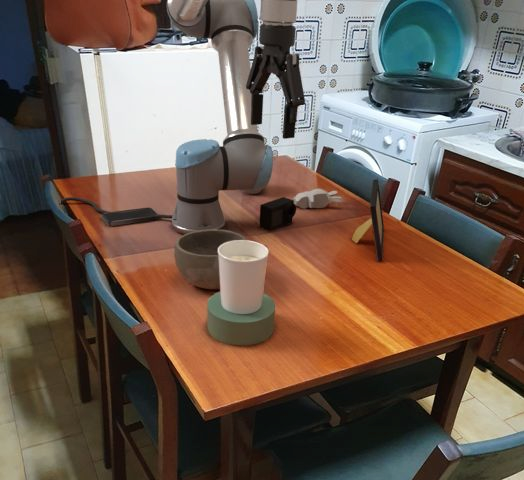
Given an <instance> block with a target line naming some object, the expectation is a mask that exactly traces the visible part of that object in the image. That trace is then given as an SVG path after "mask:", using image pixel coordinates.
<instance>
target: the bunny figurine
mask: <svg viewBox="0 0 524 480" xmlns="http://www.w3.org/2000/svg"><path fill="white" fill-rule="evenodd" d="M337 195H338V191H337V190H332V191H329V192H328V191H327V190H324V189H323V188H314V189H312V190H310V191H302V192H299V193H297V194H296V196H294V197H293V198H292V200H294V204H295V205H296V207H299V208H300V209H303V210H305V209H307V208H309V209H314V208H315V209H324V208H326V207H327V206H328V204H329V203H330V202H335V203H342V202H344V201H343V196H337Z"/></svg>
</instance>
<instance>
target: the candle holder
mask: <svg viewBox="0 0 524 480" xmlns="http://www.w3.org/2000/svg"><path fill="white" fill-rule="evenodd" d="M269 252H270V251H269V249H268V247H266V245H264V244H262V243H260V242H257V241H255V240H254V241H253V240H248V239H247V240H234V241H229V242H226V243H223V244H222V245H220V246H219V248H218V259H219V277H220V289H219V292H220V295H221V304H222V307H223V308H224V309H225V310H227V311H228V312H231V313H235V314H250V313H254V312H256V311H258V310H259V309H260V308H261V305H262V299H263V293H264V290H265V282H266V276H267V275H266V274H267V266H268V258H269V255H270V253H269Z"/></svg>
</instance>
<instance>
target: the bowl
mask: <svg viewBox="0 0 524 480" xmlns="http://www.w3.org/2000/svg"><path fill="white" fill-rule="evenodd" d="M234 240H248V239H247V238H246V237H245V236H243V234H240V233H238V232H235V231H232V230H228V229H223V230H217V229H208V230H200V231H194V232H190V233H187V234H182V235H181V236H179V237H178V238H177V239H176V241H175V244H174V254H173V255H174V262H175V265H176V268H177V270H178V272H179V273H180V275H181V276H182V277H183V279H184V280H185V281H186V282H187V283H188V284H190V285H193V286H194V287H197V288H201V289H206V290H220V277H219V259H218V248H219V246H220V245H222V244H223V243H226V242H229V241H234Z"/></svg>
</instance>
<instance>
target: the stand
mask: <svg viewBox="0 0 524 480" xmlns="http://www.w3.org/2000/svg"><path fill="white" fill-rule="evenodd" d="M206 312H207V313H206V328H207V331H208V333H209V335H210V336H211V337H212V338H214V339H215V340H216V341H218V342H221V343H224V344H226V345H231V346H240V347H241V346H243V347H244V346H253V345H257V344H260V343H263V342H265V341H267V340H268V339H270V338H271V336H272V335H273V333H274V331H275V319H276V318H275V317H276V302H275V301H274V299H273V298H272V297H271V296H270V295H268V294H266V293H264V292H263V299H262V305H261V308H260V309H259V310H258V311H256V312H254V313H250V314H235V313H231V312H228V311H227V310H225V309H224V308H223V307H222V304H221V295H220V291H218V292H215V293H213V294H212V295H211V296H210V297H209V298H208V300H207V303H206Z"/></svg>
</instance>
